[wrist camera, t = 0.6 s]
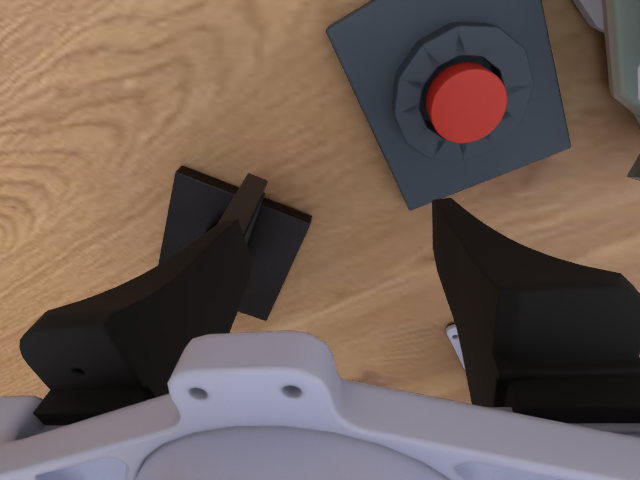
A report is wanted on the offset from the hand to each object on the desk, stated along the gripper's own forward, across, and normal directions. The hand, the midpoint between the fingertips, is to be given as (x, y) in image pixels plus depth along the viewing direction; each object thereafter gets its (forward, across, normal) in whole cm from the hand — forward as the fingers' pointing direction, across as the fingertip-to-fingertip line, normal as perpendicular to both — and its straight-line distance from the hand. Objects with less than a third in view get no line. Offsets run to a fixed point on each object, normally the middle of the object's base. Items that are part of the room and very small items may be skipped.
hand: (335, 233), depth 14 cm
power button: (+7, -6, -2) cm, 10 cm away
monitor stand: (+10, +9, +7) cm, 15 cm away
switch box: (+10, -6, -2) cm, 12 cm away
